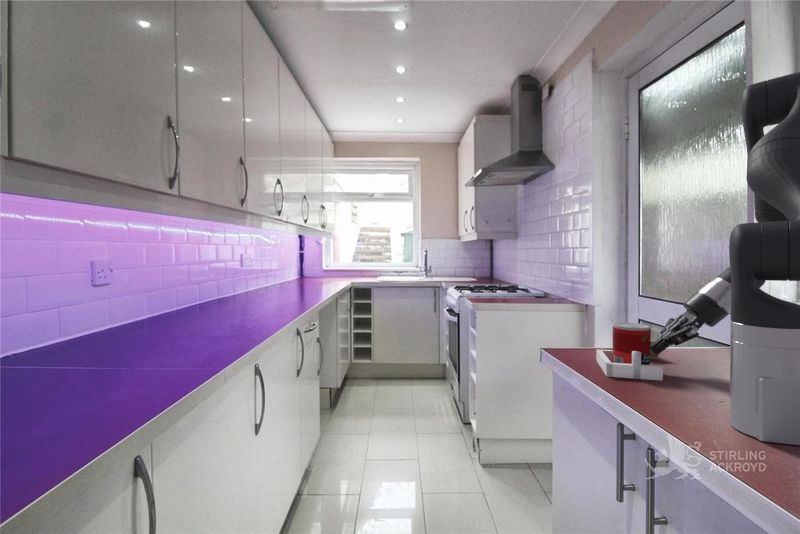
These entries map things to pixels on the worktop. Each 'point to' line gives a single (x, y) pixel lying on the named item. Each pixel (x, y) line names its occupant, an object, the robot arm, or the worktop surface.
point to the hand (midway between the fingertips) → (652, 351)
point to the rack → (627, 367)
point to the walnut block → (652, 355)
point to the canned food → (631, 342)
